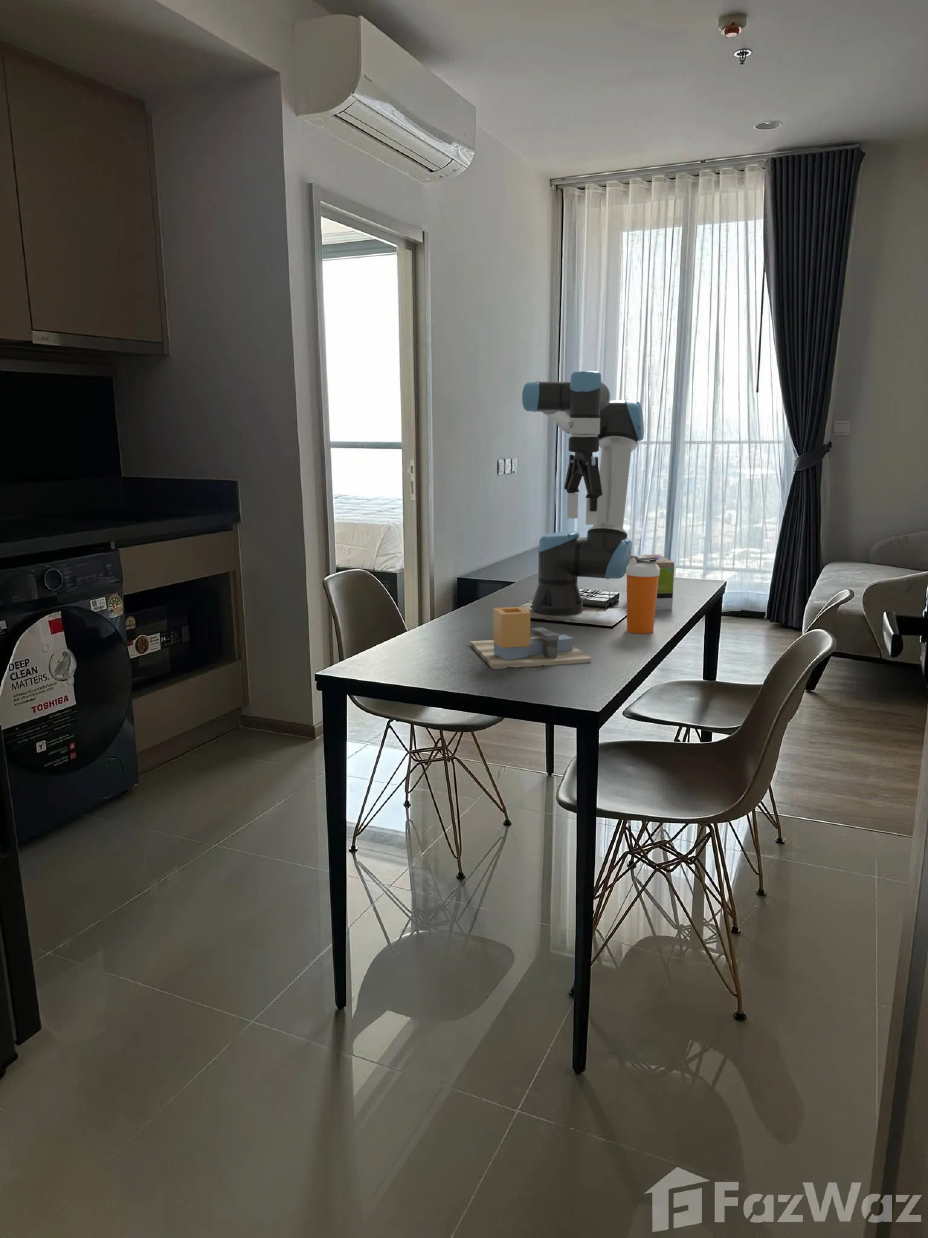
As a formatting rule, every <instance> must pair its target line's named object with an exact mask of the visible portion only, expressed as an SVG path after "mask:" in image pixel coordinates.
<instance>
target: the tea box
mask: <svg viewBox="0 0 928 1238" xmlns="http://www.w3.org/2000/svg"><path fill="white" fill-rule="evenodd" d="M634 556H636V557H638V558H648V557H650V558H657V559H658V560H656V564H657V565H658V566H659V568H660V575H659V579H658V589H657V599H656V609H655V611H669V610H670V611H671V610H673V604H674V603H673V602H674V601H673V600H674V578H675V577H674V576H675V562H674V561H672V560H670V559H668V558H666V557H665V556H663V555H661V554H636V555H635V554H631V558H632V557H634ZM631 558H630V559H631ZM641 561H649V560H641Z"/></svg>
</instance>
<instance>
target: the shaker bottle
mask: <svg viewBox="0 0 928 1238" xmlns="http://www.w3.org/2000/svg"><path fill="white" fill-rule="evenodd" d="M641 560H649V561H641ZM656 560H658V559H657V558H650V557H648V558H638V557H636V556H634V557H632V558H631V559H630V561H629V564H628V566H627V567H626V573H625V575H626V631H627V632H628V633H632V634H639V635H640V634H641V635H645V634H652V633H653V632H654V629H655V628H654V627H655V618H656V610H655V609H656V599H657V589H658V579H659V575H660V568H659V566H658V565H657V564H656Z"/></svg>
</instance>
